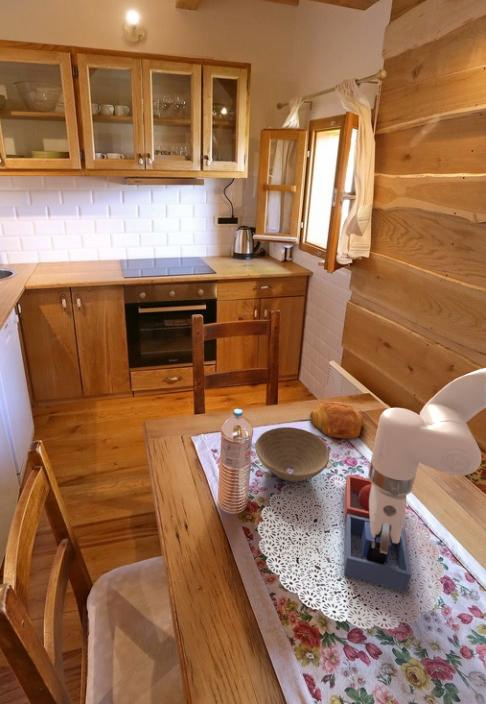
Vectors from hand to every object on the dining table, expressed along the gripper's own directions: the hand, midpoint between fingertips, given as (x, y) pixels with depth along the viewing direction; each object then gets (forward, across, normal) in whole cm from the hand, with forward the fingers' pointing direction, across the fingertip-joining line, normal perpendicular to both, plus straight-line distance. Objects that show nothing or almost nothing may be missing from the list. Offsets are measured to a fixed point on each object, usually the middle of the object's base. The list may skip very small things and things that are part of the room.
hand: (374, 549), depth 79 cm
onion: (+3, +12, 0) cm, 13 cm away
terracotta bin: (+3, +12, 0) cm, 13 cm away
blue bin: (+3, 0, 0) cm, 3 cm away
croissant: (+3, +45, +8) cm, 46 cm away
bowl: (+3, +20, +19) cm, 28 cm away
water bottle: (+3, +5, +30) cm, 31 cm away
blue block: (0, 0, 0) cm, 0 cm away
